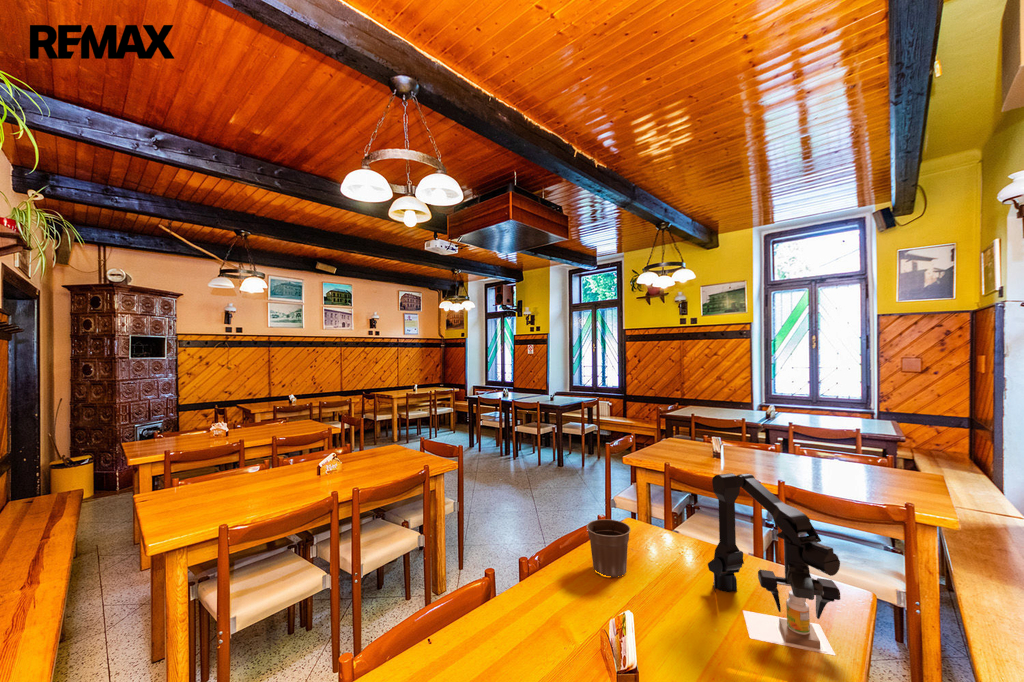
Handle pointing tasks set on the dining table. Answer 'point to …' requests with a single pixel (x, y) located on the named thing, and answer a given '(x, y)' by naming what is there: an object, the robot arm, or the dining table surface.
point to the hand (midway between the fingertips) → (798, 614)
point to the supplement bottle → (798, 614)
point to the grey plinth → (799, 636)
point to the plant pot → (609, 546)
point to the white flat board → (780, 632)
